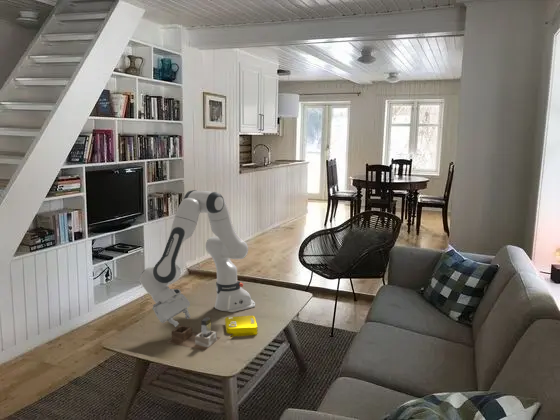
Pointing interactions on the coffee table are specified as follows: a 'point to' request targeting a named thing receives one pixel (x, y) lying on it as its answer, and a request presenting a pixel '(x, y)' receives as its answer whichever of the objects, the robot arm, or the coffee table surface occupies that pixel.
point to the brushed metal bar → (206, 327)
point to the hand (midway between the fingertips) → (183, 321)
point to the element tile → (241, 326)
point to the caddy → (192, 338)
